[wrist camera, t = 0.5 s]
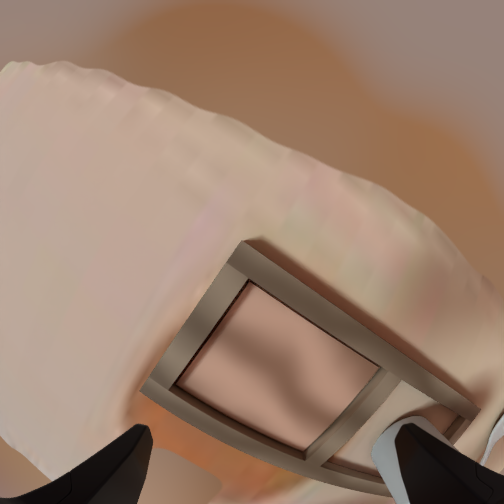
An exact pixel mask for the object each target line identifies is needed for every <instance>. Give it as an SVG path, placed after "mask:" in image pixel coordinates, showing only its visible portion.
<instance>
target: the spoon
mask: <svg viewBox="0 0 504 504" xmlns="http://www.w3.org/2000/svg"><path fill="white" fill-rule="evenodd" d="M502 436H504V414H503V416H502V417H501V418H500V420H499V421H498V422H497V424H496V425H495V427H494V428H493V430H492V432H491V434H490V437H489V440H488V444H487V447H486V450H485V453H484V455H483V457H482V459H481V461H480V463H479V464H481V465H482V466H484V464H485V462H486V461H487V459H488V457H489V454H490V452H491V450H492V448H493V446H494V445H495V443H496V442H497V441H498V440H499V439H500V438H501V437H502Z"/></svg>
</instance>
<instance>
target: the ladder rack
mask: <svg viewBox="0 0 504 504" xmlns="http://www.w3.org/2000/svg"><path fill="white" fill-rule="evenodd" d="M248 278H249V279H251V280H252V281H253V282H255V283H256V284H258V285H259V286H261V287H262V288H264V289H265V290H267V291H268V292H269V293H271V294H272V295H274V296H275V297H277V298H278V299H280V300H281V301H283V302H284V303H286V304H287V305H289V306H290V307H291V308H293V309H294V310H296V311H297V312H299V313H300V314H302V315H303V316H305V317H306V318H308V319H309V320H311V321H312V322H314V323H315V324H317V325H318V326H320V327H321V328H323V329H324V330H326V331H327V332H329V333H330V334H332V335H333V336H335V337H336V338H338V339H339V340H341V341H342V342H344V343H346V344H347V345H349V346H350V347H352V348H353V349H355V350H356V351H358V352H359V353H361V354H362V355H364V356H366V357H367V358H369V359H370V360H372V361H373V362H375V363H376V364H378V365H380V366H381V367H380V368H379V367H378V366H376V365H375V364H373V363H372V362H370V361H369V360H367V359H366V358H364V357H362V356H361V355H359V354H358V353H356V352H355V351H353V350H352V349H350V348H348V347H347V346H345V345H344V344H342V343H341V342H339V341H338V340H336V339H335V338H333V337H332V336H330V335H329V334H327V333H326V332H324V331H323V330H321V329H319V328H318V327H316V326H315V325H313V324H312V323H310V322H309V321H307V320H306V319H304V318H303V317H301V316H300V315H298V314H297V313H296V312H294V311H293V310H291V309H290V308H288V307H287V306H285V305H284V304H282V303H281V302H279V301H278V300H276V299H275V298H273V297H272V296H270V295H269V294H268V293H266V292H265V291H263V290H262V289H260V288H259V287H257V286H256V285H254V284H253V283H252V282H250V281H249V283H248V284H247V286H246V287H245V289H244V290H243V291H242V293H241V294H240V296H239V297H238V298H237V300H236V301H235V303H234V304H233V305H232V307H231V308H230V310H229V311H228V312H227V314H226V315H225V317H224V318H223V319H222V321H221V322H220V324H219V325H218V326H217V328H216V329H215V331H214V332H213V333H212V335H211V336H210V338H209V339H208V340H207V342H206V343H205V345H204V346H203V347H202V349H201V350H200V351H199V353H198V354H197V356H196V357H195V358H194V360H193V361H192V362H191V364H190V365H189V367H188V368H187V369H186V371H185V372H184V373H183V375H182V376H181V378H180V379H179V380H178V382H177V383H176V384H177V385H178V386H180V387H181V388H183V389H184V390H186V391H187V392H189V393H191V394H192V395H194V396H195V397H197V398H199V399H200V400H202V401H204V402H205V403H207V404H209V405H210V406H212V407H214V408H215V409H217V410H219V411H221V412H222V413H224V414H226V415H228V416H230V417H231V418H233V419H235V420H237V421H239V422H241V423H243V424H245V425H246V426H248V427H250V428H252V429H254V430H256V431H258V432H260V433H263V434H265V435H267V436H269V437H271V438H273V439H275V440H278V441H280V442H282V443H284V444H287V445H289V446H291V447H294V448H296V449H298V450H296V449H294V448H291V447H289V446H287V445H284V444H282V443H280V442H278V441H275V440H273V439H271V438H269V437H267V436H265V435H263V434H260V433H258V432H256V431H254V430H252V429H250V428H248V427H246V426H244V425H243V424H241V423H239V422H237V421H235V420H233V419H231V418H229V417H228V416H226V415H224V414H222V413H220V412H219V411H217V410H215V409H213V408H212V407H210V406H208V405H207V404H205V403H203V402H202V401H200V400H198V399H197V398H195V397H194V396H192V395H190V394H189V393H187V392H186V391H184V390H183V389H181V388H179V387H178V386H176V385H175V384H173V383H174V381H175V380H176V379H177V377H178V376H179V375H180V373H181V372H182V370H183V369H184V368H185V366H186V365H187V364H188V362H189V361H190V359H191V358H192V357H193V355H194V354H195V352H196V351H197V350H198V348H199V347H200V345H201V344H202V343H203V341H204V340H205V339H206V337H207V336H208V334H209V333H210V332H211V330H212V329H213V327H214V326H215V325H216V323H217V322H218V320H219V319H220V318H221V316H222V315H223V313H224V312H225V310H226V309H227V308H228V306H229V305H230V303H231V302H232V301H233V299H234V298H235V296H236V295H237V294H238V292H239V291H240V289H241V288H242V286H243V285H244V284H245V282H246V281H247V279H248ZM378 368H379V370H378ZM377 370H378V371H377ZM376 371H377V372H376ZM375 372H376V373H375ZM374 374H375V375H374ZM373 375H374V376H373ZM372 376H373V377H372ZM371 377H372V379H371ZM370 379H371V380H370ZM401 379H402V380H403V381H405V382H406V383H408V384H410V385H411V386H413V387H414V388H416V389H418V390H419V391H421V392H422V393H424V394H426V395H427V396H429V397H431V398H432V399H434V400H435V401H437V402H439V403H440V404H442V405H444V406H445V407H447V408H449V409H450V410H452V411H454V412H455V413H457V414H459V416H458V417H457V419H456V420H455V421H454V422H453V424H452V425H451V426H450V427H449V429H448V430H447V431H446V432H445V433H444V435H443V436H444V437H445V438H446V439H447V440H448V441H449V442H450V443H451V444H452V445H454V444H455V442H456V441H457V440H458V439H459V438H460V436H461V435H462V434H463V433H464V432H465V430H466V429H467V428H468V426H469V425H470V424H471V423H472V421H473V420H474V419H475V417H476V416H477V415H478V413H479V412H480V410H481V409H480V408H479V407H477V406H476V405H474V404H473V403H472V402H470V401H469V400H467V399H466V398H465V397H463V396H462V395H460V394H459V393H458V392H456V391H455V390H453V389H452V388H451V387H449V386H448V385H446V384H445V383H444V382H442V381H441V380H439V379H438V378H437V377H435V376H434V375H432V374H431V373H430V372H428V371H427V370H425V369H424V368H423V367H421V366H420V365H418V364H417V363H415V362H414V361H413V360H411V359H410V358H408V357H407V356H406V355H404V354H403V353H401V352H400V351H399V350H397V349H396V348H394V347H393V346H392V345H390V344H389V343H387V342H386V341H384V340H383V339H382V338H380V337H379V336H377V335H376V334H375V333H373V332H372V331H370V330H369V329H368V328H366V327H365V326H363V325H362V324H360V323H359V322H358V321H356V320H355V319H353V318H352V317H351V316H349V315H348V314H346V313H345V312H343V311H342V310H341V309H339V308H338V307H336V306H335V305H333V304H332V303H331V302H329V301H328V300H326V299H325V298H324V297H322V296H321V295H319V294H318V293H316V292H315V291H314V290H312V289H311V288H309V287H308V286H306V285H305V284H304V283H302V282H301V281H299V280H298V279H296V278H295V277H294V276H292V275H291V274H289V273H288V272H286V271H285V270H284V269H282V268H281V267H279V266H278V265H277V264H275V263H274V262H272V261H271V260H269V259H268V258H267V257H265V256H264V255H262V254H261V253H259V252H258V251H256V250H255V249H254V248H252V247H251V246H249V245H248V244H246V243H245V242H244V241H241V242H240V243H239V245H238V246H237V248H236V249H235V251H234V252H233V253H232V255H231V256H230V258H229V259H228V261H227V262H226V264H225V265H224V266H223V268H222V269H221V271H220V272H219V274H218V275H217V277H216V278H215V279H214V281H213V282H212V284H211V285H210V287H209V288H208V290H207V291H206V293H205V294H204V295H203V297H202V298H201V300H200V301H199V303H198V304H197V306H196V307H195V309H194V310H193V312H192V313H191V315H190V316H189V318H188V319H187V320H186V322H185V323H184V325H183V326H182V328H181V329H180V331H179V332H178V334H177V335H176V337H175V338H174V340H173V341H172V343H171V344H170V346H169V347H168V349H167V350H166V352H165V353H164V355H163V356H162V358H161V359H160V361H159V362H158V364H157V365H156V367H155V368H154V370H153V371H152V373H151V374H150V376H149V377H148V379H147V380H146V382H145V383H144V385H143V386H142V388H141V389H140V392H141V393H143V394H144V395H145V396H147V397H148V398H150V399H151V400H153V401H154V402H156V403H157V404H159V405H160V406H162V407H163V408H165V409H166V410H168V411H169V412H171V413H172V414H174V415H176V416H177V417H179V418H181V419H182V420H184V421H186V422H187V423H189V424H191V425H192V426H194V427H196V428H198V429H199V430H201V431H203V432H205V433H206V434H208V435H210V436H212V437H214V438H216V439H218V440H220V441H222V442H224V443H226V444H228V445H230V446H232V447H234V448H236V449H238V450H240V451H242V452H244V453H246V454H249V455H251V456H253V457H255V458H258V459H260V460H262V461H265V462H267V463H270V464H272V465H275V466H277V467H280V468H282V469H285V470H288V471H291V472H293V473H296V474H299V475H302V476H305V477H308V478H311V479H314V480H318V481H321V482H324V483H328V484H331V485H335V486H339V487H343V488H347V489H351V490H356V491H360V492H365V493H370V494H375V495H381V496H387V497H393V496H392V495H391V493H390V491H389V489H388V487H387V486H386V484H385V482H384V480H383V478H381V477H377V476H373V475H369V474H366V473H362V472H359V471H355V470H352V469H349V468H345V467H342V466H339V465H336V464H333V463H330V462H328V461H327V460H328V459H329V458H330V457H331V456H332V455H333V454H334V453H335V452H337V451H338V450H339V449H340V448H341V447H342V446H343V445H344V444H345V443H346V442H347V441H348V440H349V439H350V438H351V437H352V436H353V435H354V434H355V433H356V432H357V431H358V430H359V429H360V428H361V427H362V426H363V424H364V423H365V422H366V421H367V420H368V419H369V418H370V417H371V416H372V415H373V413H374V412H375V411H376V410H377V409H378V408H379V407H380V405H381V404H382V403H383V402H384V401H385V400H386V398H387V397H388V396H389V395H390V393H391V392H392V391H393V390H394V388H395V387H396V386H397V385H398V383H399V382H400V381H401ZM369 380H370V381H369ZM368 381H369V382H368ZM367 382H368V384H367ZM366 384H367V385H366ZM365 385H366V386H365ZM364 386H365V387H364ZM363 387H364V388H363ZM362 389H363V390H362ZM361 390H362V391H361ZM360 391H361V392H360ZM359 392H360V393H359ZM358 393H359V394H358ZM357 395H358V396H357ZM356 396H357V397H356ZM355 397H356V398H355ZM354 398H355V399H354ZM353 399H354V400H353ZM352 400H353V401H352ZM351 402H352V403H351ZM350 403H351V404H350ZM349 404H350V405H349ZM348 405H349V406H348ZM347 406H348V407H347ZM346 407H347V408H346ZM345 408H346V409H345ZM344 409H345V410H344ZM342 412H343V413H342ZM341 413H342V414H341ZM340 414H341V415H340ZM339 415H340V416H339ZM338 416H339V417H338ZM337 417H338V418H337ZM336 418H337V419H336ZM335 419H336V420H335ZM334 420H335V421H334ZM333 421H334V422H333ZM332 422H333V423H332ZM331 423H332V424H331ZM330 424H331V425H330ZM329 425H330V426H329ZM324 431H325V432H324ZM323 432H324V433H323ZM322 433H323V434H322ZM321 434H322V435H321ZM314 440H315V441H314ZM313 441H314V442H313ZM312 442H313V443H312ZM311 443H312V444H311ZM310 444H311V445H310ZM309 445H310V446H309ZM308 446H309V447H308ZM307 447H308V448H307ZM306 448H307V449H306ZM305 449H306V450H305ZM299 450H301V451H304V450H305V451H304V452H301V451H299Z"/></svg>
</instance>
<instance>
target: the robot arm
mask: <svg viewBox="0 0 504 504" xmlns="http://www.w3.org/2000/svg"><path fill="white" fill-rule="evenodd" d="M394 443H395V448H396V453H397V458H398V463H399V468H400V473H401V477H402V480H403V483H404V486H405V489H406V493H407V496H408V499H409V503H410V504H504V475H501V474H499V473H496V472H494V471H492V470H490V469H488V468H486V467H484V466H482V465H481V464H479V463H477V462H475V461H474V460H472V459H470V458H468V457H467V456H465V455H463V454H462V453H460V452H458V451H457V450H455V449H454V448H452V447H450V446H449V445H447V444H445V443H444V442H442V441H441V440H439V439H438V438H436V437H434V436H433V435H431V434H430V433H428V432H427V431H425V430H423V429H422V428H420V427H419V426H417V425H416V424H414V423H406V424H403V425H402V426H401V427H400V429H399V431H398V433H397V435H396V437H395V440H394ZM152 446H153V439H152V436H151V432H150V429H149V427H148V426H147V425H143V424H135V425H134V426H133V427H131V428H130V429H129V430H127V431H126V432H125V433H123V434H122V435H121V436H119V437H118V438H117V439H115V440H114V441H112V442H111V443H110V444H108V445H107V446H106V447H104V448H103V449H101V450H100V451H98V452H97V453H96V454H94V455H93V456H91V457H90V458H88V459H87V460H85V461H84V462H83V463H81V464H80V465H78V466H77V467H75V468H74V469H72V470H71V471H70V472H67V473H66V474H64V475H63V476H61V477H59V478H58V479H56V480H54V481H53V482H51V483H49V484H47V485H44V486H42V487H40V488H38V489H35V490H33V491H31V492H28V493H26V494H24V495H21V496H18V497H14V498H0V504H137V502H138V499H139V496H140V493H141V490H142V488H143V485H144V481H145V479H146V474H147V470H148V465H149V460H150V455H151V450H152Z"/></svg>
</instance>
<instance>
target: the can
mask: <svg viewBox="0 0 504 504" xmlns="http://www.w3.org/2000/svg"><path fill="white" fill-rule="evenodd" d="M406 423H414V424H416V425H417V426H419V427H420V428H422V429H423V430H425V431H427V432H428V433H430V434H431V435H433V436H434V437H436V438H438V439H439V440H441V441H442V442H444V443H445V444H447V445H449V446H450V447H452V448H454V449H455V450H457V449H456V448H455V447H454V446H453V445H452V444H451V443H450V442H449V441H448V440H447V439H446V438H445V437H444V436H443V435H442V434H441V433H440V432H439V431H438V430H437V429H436V428H435V427H434V426H433V425H432V424H431V423H430V422H429V421H428V420H427V419H426V418H424V417H422V416H411V417H408V418H405V419H402V420H399V421H398V422H396V423H394V424H392V425H391V426H390V427H388V428H387V429H386V430H385V431H384V432H383V433H382V434H381V435H380V437H379V438H378V440H377V441H376V443H375V445H374V446H373V449H372V453H371V456H372V460H373V462H374V464H375V466H376V468H377V469H378V471H379V473H380V475H381V477H382V478H383V480H384V482H385V484H386V486H387V487H388V489H389V491H390V493H391V495H392V496H393V498H394V500H395V502H396V504H410V503H409V499H408V496H407V493H406V489H405V486H404V483H403V480H402V477H401V473H400V468H399V463H398V458H397V453H396V448H395V443H394V440H395V437H396V435H397V433H398V431H399V429H400V427H401V426H402V425H403V424H406ZM457 451H458V450H457ZM458 452H459V451H458Z"/></svg>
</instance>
